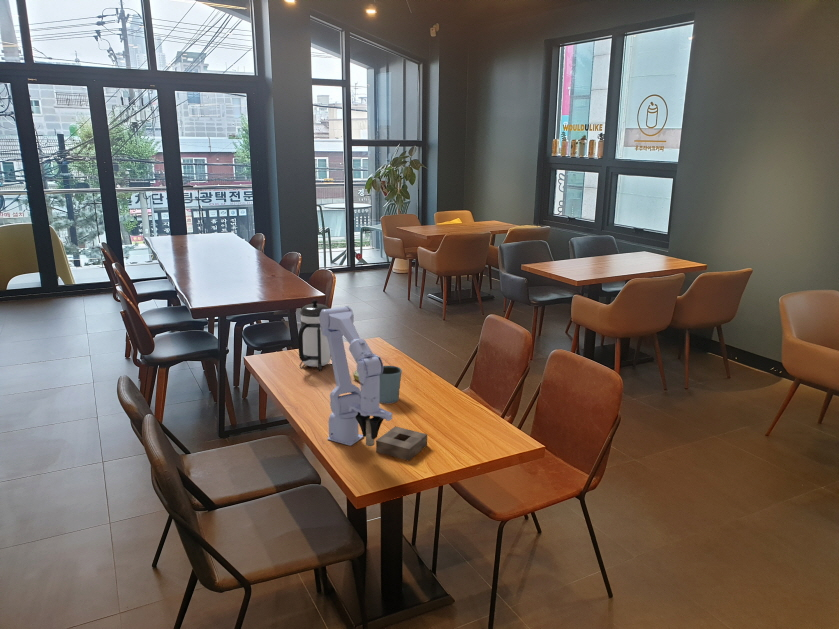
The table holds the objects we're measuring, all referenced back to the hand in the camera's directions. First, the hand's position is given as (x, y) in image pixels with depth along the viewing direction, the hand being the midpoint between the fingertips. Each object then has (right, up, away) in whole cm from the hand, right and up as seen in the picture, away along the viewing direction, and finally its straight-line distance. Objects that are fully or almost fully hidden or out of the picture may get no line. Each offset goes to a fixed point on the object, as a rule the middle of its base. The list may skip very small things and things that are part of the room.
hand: (370, 436), depth 194 cm
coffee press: (-30, +14, +82) cm, 89 cm away
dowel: (0, -2, +1) cm, 2 cm away
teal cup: (+3, +5, +49) cm, 49 cm away
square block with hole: (+10, -6, +9) cm, 14 cm away
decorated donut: (-7, +10, +69) cm, 70 cm away
